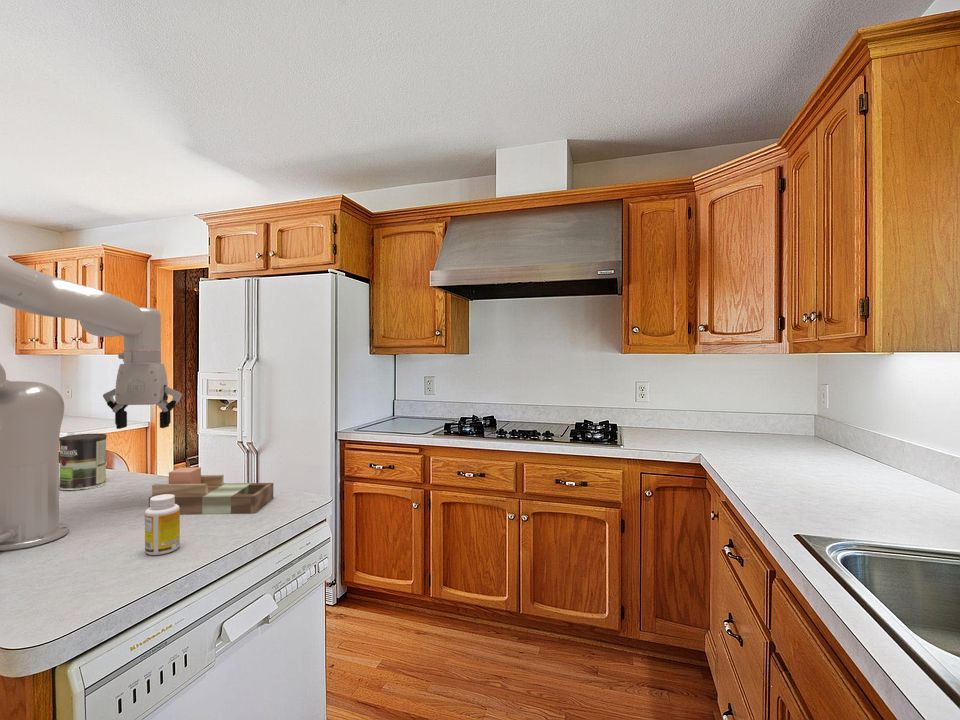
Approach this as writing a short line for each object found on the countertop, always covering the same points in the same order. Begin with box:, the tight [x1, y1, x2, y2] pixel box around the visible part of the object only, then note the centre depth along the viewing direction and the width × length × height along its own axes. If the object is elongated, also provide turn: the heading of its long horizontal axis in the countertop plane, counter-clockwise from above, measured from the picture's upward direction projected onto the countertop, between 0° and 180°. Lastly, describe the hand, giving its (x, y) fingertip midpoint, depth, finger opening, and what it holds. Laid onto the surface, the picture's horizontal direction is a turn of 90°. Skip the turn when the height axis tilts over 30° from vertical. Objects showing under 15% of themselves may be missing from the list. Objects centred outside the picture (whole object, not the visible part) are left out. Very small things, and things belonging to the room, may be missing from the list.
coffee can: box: [59, 433, 107, 491], centre depth 135 cm, size 10×10×14 cm
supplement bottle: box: [144, 494, 181, 556], centre depth 92 cm, size 6×6×10 cm
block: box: [168, 466, 202, 484], centre depth 118 cm, size 5×5×5 cm
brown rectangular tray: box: [148, 474, 274, 515], centre depth 118 cm, size 12×24×6 cm, turn 94°
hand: (143, 427), depth 118 cm, fingers open, 9 cm apart
